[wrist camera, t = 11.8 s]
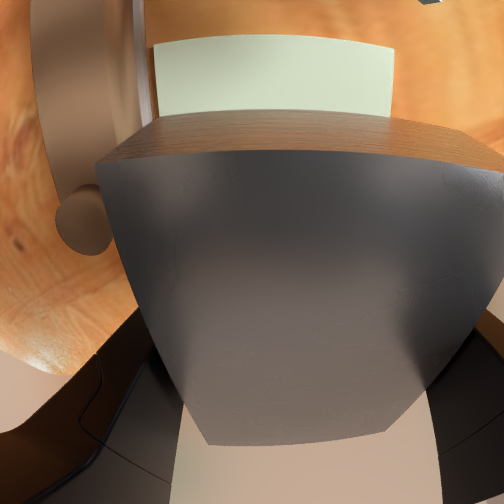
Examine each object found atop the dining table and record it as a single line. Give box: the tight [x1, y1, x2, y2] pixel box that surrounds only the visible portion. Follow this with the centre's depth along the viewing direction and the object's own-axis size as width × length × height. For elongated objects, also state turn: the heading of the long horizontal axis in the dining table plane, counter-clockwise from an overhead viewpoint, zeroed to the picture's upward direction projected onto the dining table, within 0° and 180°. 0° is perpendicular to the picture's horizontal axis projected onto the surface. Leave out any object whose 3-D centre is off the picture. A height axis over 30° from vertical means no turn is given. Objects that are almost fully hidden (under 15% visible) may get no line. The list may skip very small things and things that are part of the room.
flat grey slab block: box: [94, 109, 504, 446], centre depth 6 cm, size 6×9×2 cm, turn 1°
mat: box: [153, 34, 394, 117], centre depth 15 cm, size 12×14×1 cm
